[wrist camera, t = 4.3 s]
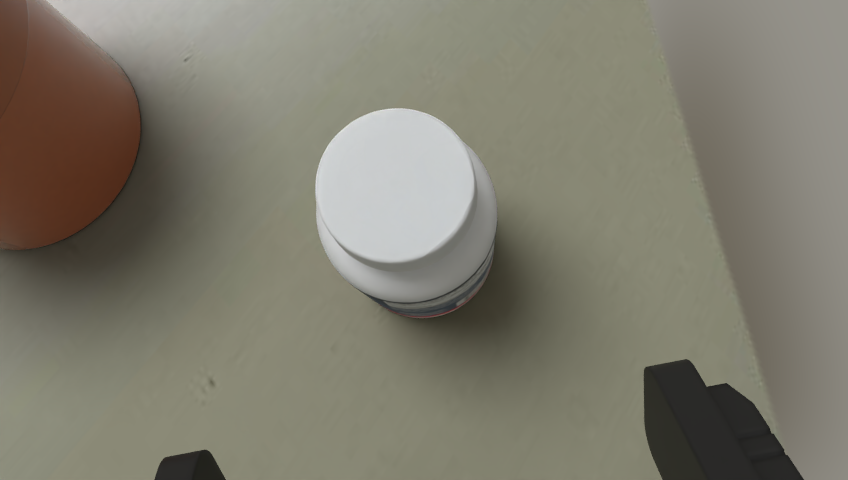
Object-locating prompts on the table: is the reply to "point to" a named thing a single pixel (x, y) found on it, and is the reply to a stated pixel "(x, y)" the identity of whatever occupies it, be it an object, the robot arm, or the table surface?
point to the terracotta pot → (58, 126)
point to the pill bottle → (406, 212)
